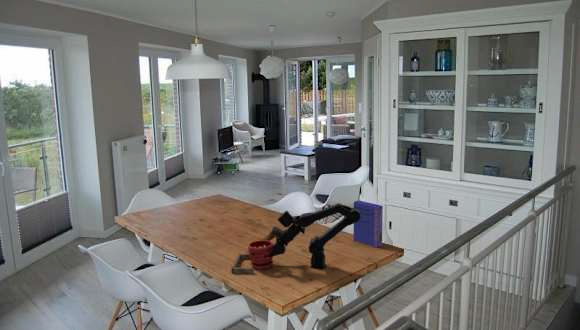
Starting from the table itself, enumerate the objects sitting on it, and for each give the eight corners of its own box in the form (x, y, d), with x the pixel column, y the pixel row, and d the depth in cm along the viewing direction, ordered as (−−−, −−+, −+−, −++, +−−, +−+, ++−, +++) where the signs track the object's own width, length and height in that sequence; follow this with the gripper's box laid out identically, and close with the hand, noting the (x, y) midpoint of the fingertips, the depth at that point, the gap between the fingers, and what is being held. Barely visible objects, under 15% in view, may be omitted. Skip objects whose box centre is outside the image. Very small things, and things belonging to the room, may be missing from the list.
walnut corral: (258, 258, 253) (258, 254, 252) (252, 273, 233) (252, 268, 232) (239, 258, 253) (238, 253, 253) (231, 273, 233) (231, 268, 233)
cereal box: (382, 245, 269) (382, 205, 264) (376, 247, 265) (377, 207, 261) (358, 238, 281) (359, 200, 277) (353, 240, 278) (353, 201, 274)
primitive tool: (262, 246, 272) (262, 241, 271) (253, 246, 274) (253, 240, 273) (275, 236, 289) (275, 231, 289) (267, 236, 291) (266, 230, 291)
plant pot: (276, 261, 247) (276, 240, 245) (270, 271, 235) (269, 248, 233) (253, 260, 250) (252, 238, 248) (245, 269, 238) (244, 247, 236)
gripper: (281, 217, 247) (261, 236, 249) (278, 227, 228) (256, 249, 231) (296, 231, 247) (276, 251, 250) (294, 243, 229) (272, 264, 232)
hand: (270, 253), depth 241 cm, fingers open, 9 cm apart
